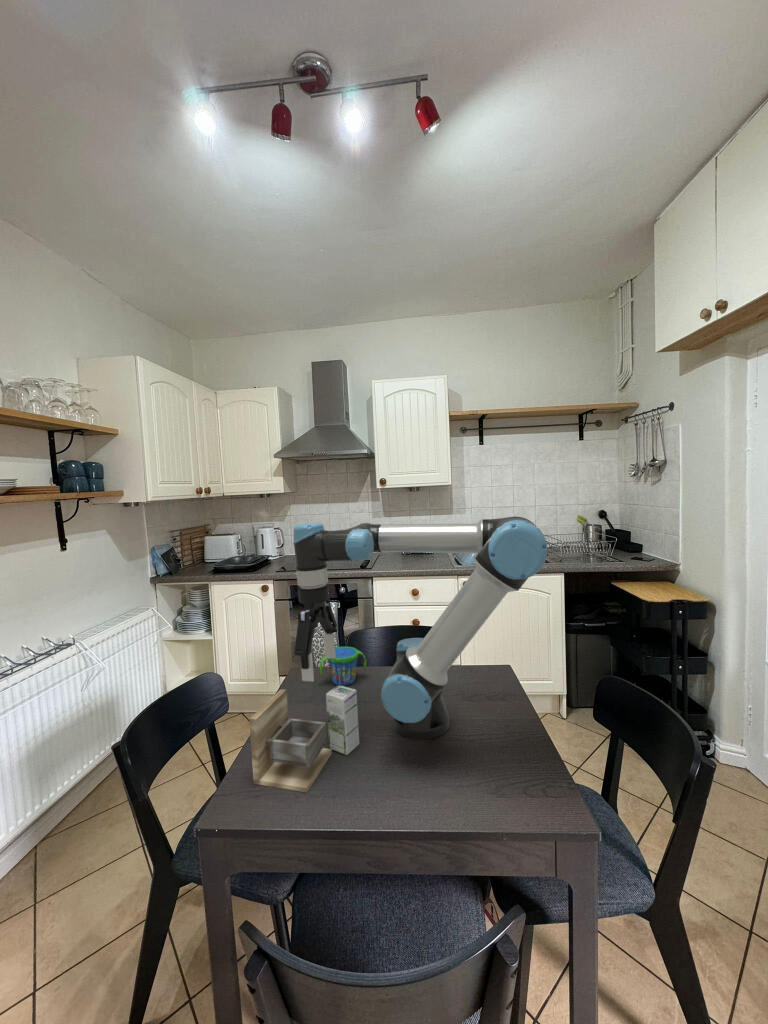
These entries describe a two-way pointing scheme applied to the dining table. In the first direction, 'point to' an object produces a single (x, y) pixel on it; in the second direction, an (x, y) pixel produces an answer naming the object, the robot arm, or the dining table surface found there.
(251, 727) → the wooden caddy with bin
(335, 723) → the syrup box
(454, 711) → the dining table surface
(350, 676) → the snack cup
